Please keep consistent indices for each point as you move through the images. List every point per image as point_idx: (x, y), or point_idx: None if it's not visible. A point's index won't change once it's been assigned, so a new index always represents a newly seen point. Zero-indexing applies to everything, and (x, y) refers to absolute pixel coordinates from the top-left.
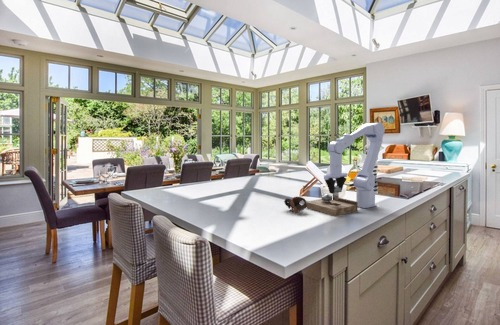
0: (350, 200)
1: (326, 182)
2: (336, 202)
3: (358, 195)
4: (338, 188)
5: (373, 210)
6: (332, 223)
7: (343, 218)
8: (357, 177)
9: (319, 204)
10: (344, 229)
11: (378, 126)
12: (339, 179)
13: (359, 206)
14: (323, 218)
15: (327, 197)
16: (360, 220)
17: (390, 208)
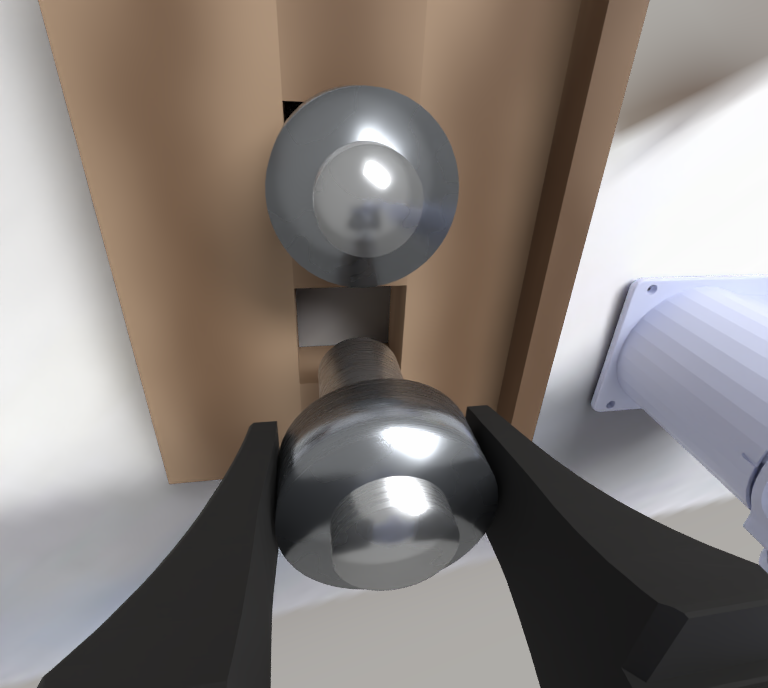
0: (528, 409)
1: (113, 632)
2: (441, 277)
3: (704, 409)
4: (353, 588)
5: (576, 461)
6: (19, 552)
7: (200, 504)
8: None
9: (146, 221)
10: (29, 641)
11: None
12: (591, 680)
13: (609, 360)
14: (18, 443)
15: (309, 270)
16: (276, 568)
17: (699, 476)
